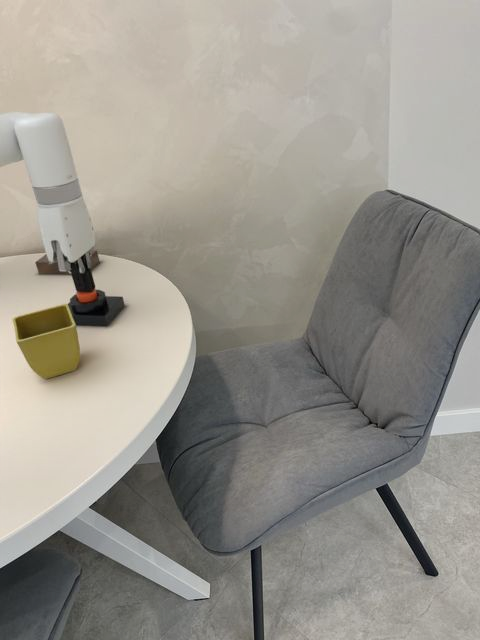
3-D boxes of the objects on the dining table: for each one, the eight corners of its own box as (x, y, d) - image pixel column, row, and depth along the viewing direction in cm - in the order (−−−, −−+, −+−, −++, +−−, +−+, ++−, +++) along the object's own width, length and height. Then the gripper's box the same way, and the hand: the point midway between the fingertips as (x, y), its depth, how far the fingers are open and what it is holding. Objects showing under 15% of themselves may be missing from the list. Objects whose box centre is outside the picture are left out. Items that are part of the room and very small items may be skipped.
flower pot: (90, 373, 88) (75, 324, 83) (34, 390, 85) (15, 341, 80) (81, 348, 95) (67, 302, 90) (29, 364, 92) (11, 317, 87)
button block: (59, 325, 103) (53, 306, 101) (79, 305, 110) (74, 287, 108) (107, 326, 101) (102, 307, 99) (125, 306, 108) (120, 288, 106)
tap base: (36, 276, 125) (31, 263, 123) (57, 260, 132) (53, 247, 131) (85, 277, 122) (81, 263, 120) (103, 260, 130) (100, 247, 128)
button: (75, 303, 102) (72, 294, 102) (84, 294, 105) (81, 286, 105) (92, 303, 102) (90, 295, 101) (101, 294, 105) (98, 286, 104)
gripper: (60, 181, 100) (86, 273, 109) (13, 207, 88) (47, 308, 97) (98, 179, 98) (121, 273, 108) (55, 206, 86) (85, 309, 96)
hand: (86, 289), depth 102 cm, fingers closed
